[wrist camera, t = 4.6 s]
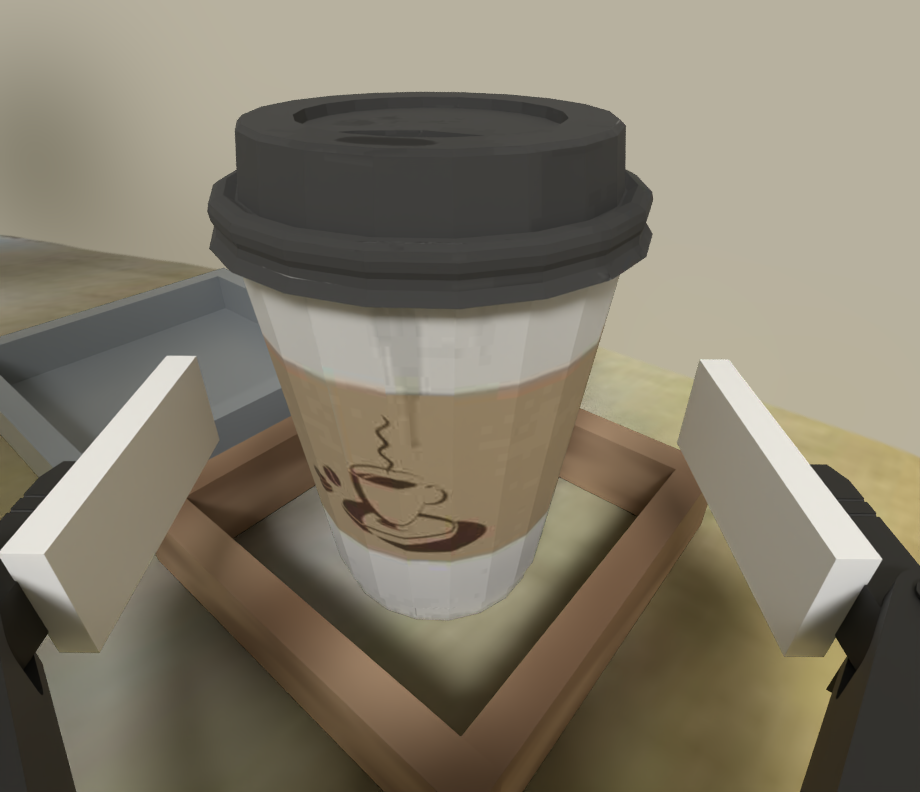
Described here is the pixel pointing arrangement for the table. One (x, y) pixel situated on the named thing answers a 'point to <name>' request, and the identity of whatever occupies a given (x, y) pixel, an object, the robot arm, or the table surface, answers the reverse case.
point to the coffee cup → (432, 315)
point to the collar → (369, 686)
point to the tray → (136, 367)
